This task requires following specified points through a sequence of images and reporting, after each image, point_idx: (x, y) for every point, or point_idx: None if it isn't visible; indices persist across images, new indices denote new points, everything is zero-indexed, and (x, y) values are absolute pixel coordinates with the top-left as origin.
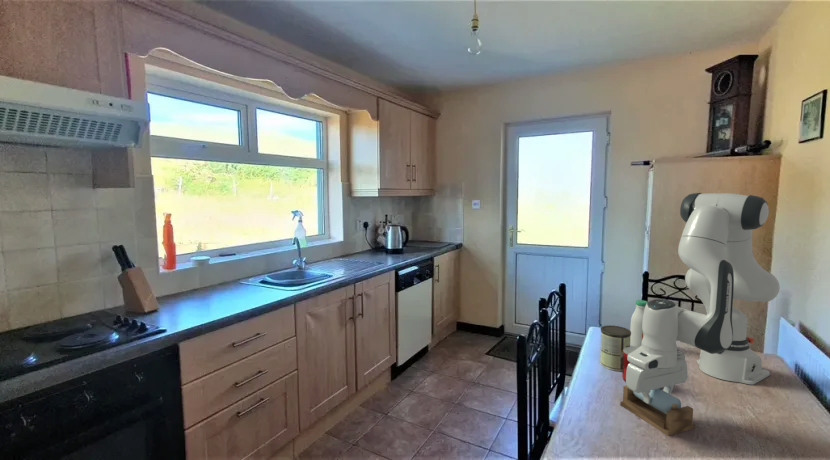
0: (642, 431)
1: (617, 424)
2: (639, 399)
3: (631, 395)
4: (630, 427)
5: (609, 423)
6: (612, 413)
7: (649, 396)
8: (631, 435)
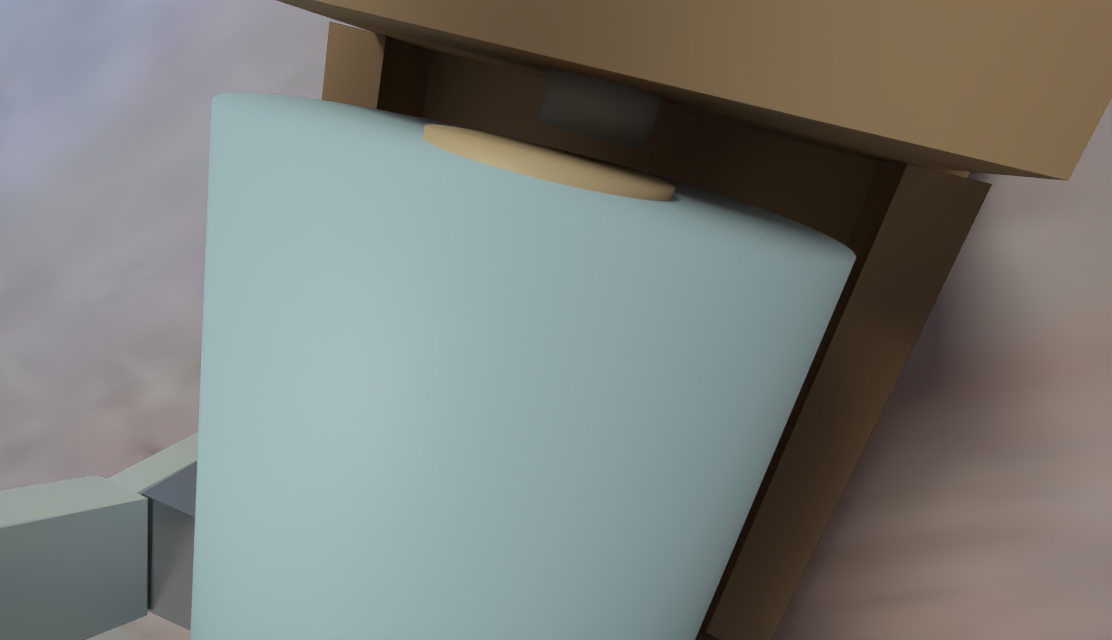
0: (187, 429)
1: (68, 219)
2: (702, 115)
3: (449, 47)
4: (139, 327)
5: (12, 157)
6: (162, 48)
7: (67, 637)
8: (64, 387)
